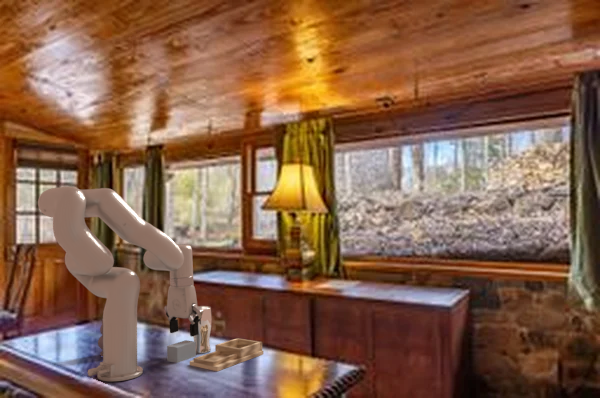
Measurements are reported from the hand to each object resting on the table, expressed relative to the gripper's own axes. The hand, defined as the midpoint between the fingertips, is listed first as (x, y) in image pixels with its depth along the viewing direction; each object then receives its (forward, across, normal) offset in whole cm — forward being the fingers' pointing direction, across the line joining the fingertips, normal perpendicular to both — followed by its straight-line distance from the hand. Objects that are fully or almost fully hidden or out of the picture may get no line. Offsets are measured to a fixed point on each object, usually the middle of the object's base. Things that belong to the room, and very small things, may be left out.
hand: (184, 333), depth 167 cm
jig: (+8, +14, +6) cm, 17 cm away
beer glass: (+8, -1, +9) cm, 12 cm away
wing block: (+8, 0, -1) cm, 8 cm away
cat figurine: (+7, -24, -11) cm, 28 cm away
